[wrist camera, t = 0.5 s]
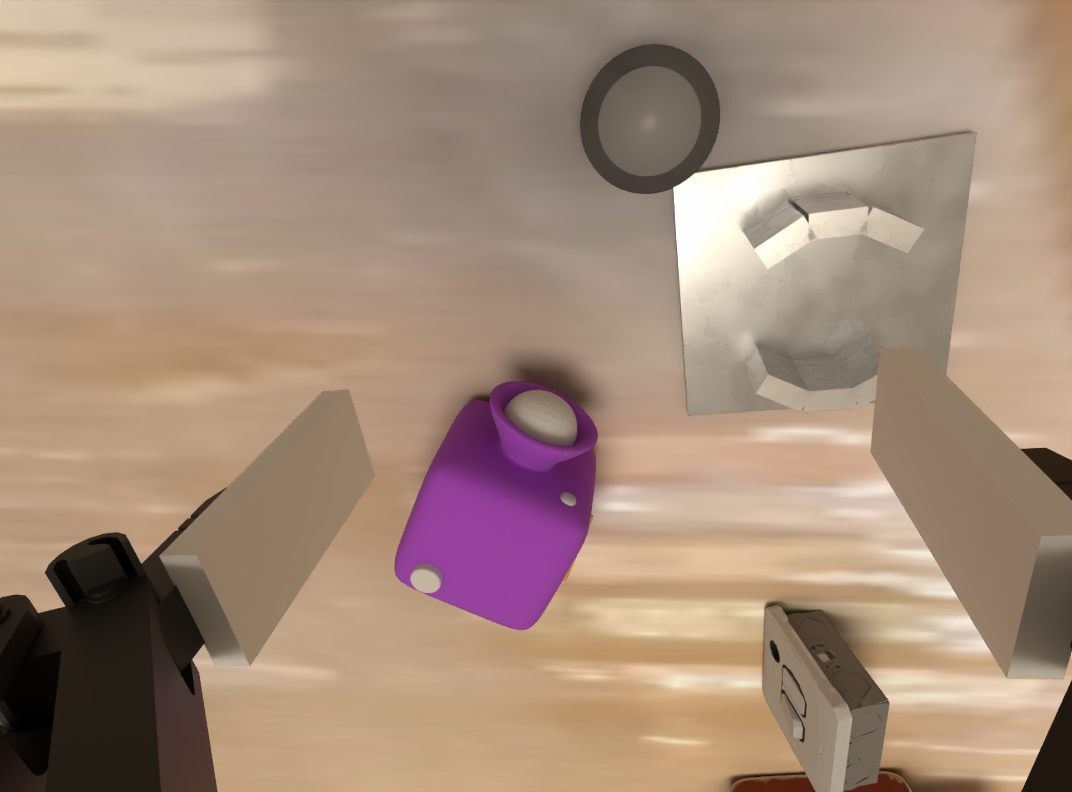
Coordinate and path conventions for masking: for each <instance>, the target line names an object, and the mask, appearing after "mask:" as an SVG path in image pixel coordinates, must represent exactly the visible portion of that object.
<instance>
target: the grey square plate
mask: <svg viewBox="0 0 1072 792" xmlns="http://www.w3.org/2000/svg"><path fill="white" fill-rule="evenodd" d="M976 134H977V133H976V132H964V133H957V134H950V135H943V136H937V137H930V138H923V139H916V140H909V141H902V142H895V143H888V144H881V145H874V146H867V147H860V148H854V149H847V150H840V151H833V152H826V153H819V154H812V155H805V156H798V157H791V158H784V159H777V160H771V161H764V162H757V163H750V164H743V165H736V166H729V167H722V168H715V169H708V170H701V171H696V172H695V173H694V174H693V175H692V176H691V177H690V178H688V179H687V180H686V181H684V182H683V183H681V184H680V185H678V186H676V187H674V188H673V196H674V211H675V227H676V242H677V258H678V273H679V288H680V304H681V319H682V334H683V350H684V365H685V381H686V396H687V411H688V416H693V415H707V414H721V413H735V412H750V411H764V410H778V409H795V410H797V411H799V412H800V411H801V409H803V411H804V412H816V411H831V410H845V409H856V404H859V406H860V407H862V406H864V405H866V404H868V403H875V397H876V386H877V375H878V364H879V353H880V349H885V348H898V347H911V346H917V347H918V348H919V349H920V350H921V351H922V352H923V353H924V354H925V355H926V356H927V357H928V358H929V359H930V360H931V361H932V362H933V363H934V364H935V365H936V366H937V367H938V368H939V369H940V370H941V371H942V372H943V373H944V374H945V375H946V370H947V363H948V355H949V347H950V339H951V331H952V323H953V315H954V308H955V300H956V292H957V284H958V276H959V268H960V260H961V252H962V245H963V237H964V229H965V221H966V213H967V205H968V197H969V190H970V182H971V174H972V166H973V158H974V150H975V142H976Z"/></svg>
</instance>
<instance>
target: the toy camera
mask: <svg viewBox="0 0 1072 792" xmlns="http://www.w3.org/2000/svg"><path fill="white" fill-rule="evenodd" d="M597 438H598V434H597V429H596V427H595V425H594V423H593V421H592V420H591V418H590V417H589V416H588V415H587V413H586V412H585V411H584V410H583V409H582V408H581V407H579V406H578V405H577V404H576V403H575V402H573V401H572V400H571V399H569V398H568V397H566V396H564V395H563V394H561V393H559V392H557V391H555V390H553V389H550V388H548V387H545V386H542V385H538V384H534V383H529V382H507V383H503V384H500V385H498V386H497V387H495V388H494V389H493V390H492V392H491V395H490V403H489V402H486V401H481V400H475V401H472V402H470V403H468V404H467V405H466V406H465V407H464V408H463V409H462V410H461V411H460V413H459V414H458V416H457V417H456V419H455V420H454V422H453V424H452V426H451V428H450V429H449V431H448V433H447V435H446V437H445V439H444V441H443V442H442V444H441V446H440V448H439V450H438V452H437V454H436V456H435V457H434V459H433V461H432V463H431V465H430V467H429V469H428V472H427V474H426V476H425V479H424V481H423V484H422V486H421V489H420V491H419V494H418V496H417V499H416V501H415V504H414V506H413V509H412V512H411V514H410V517H409V519H408V522H407V525H406V527H405V530H404V532H403V535H402V538H401V541H400V544H399V546H398V549H397V553H396V558H395V574H396V576H397V578H398V579H399V580H400V581H401V582H403V583H404V584H406V585H407V586H409V587H411V588H413V589H415V590H417V591H419V592H422V593H424V594H426V595H429V596H431V597H434V598H436V599H439V600H441V601H443V602H446V603H448V604H451V605H453V606H456V607H458V608H461V609H463V610H465V611H468V612H470V613H473V614H475V615H478V616H480V617H483V618H485V619H487V620H490V621H493V622H495V623H498V624H500V625H503V626H506V627H509V628H512V629H516V630H526V629H528V628H530V627H532V626H533V625H534V624H535V623H536V622H537V621H538V620H539V618H540V617H541V615H542V614H543V612H544V611H545V609H546V607H547V606H548V604H549V602H550V601H551V599H552V598H553V596H554V594H555V592H556V591H557V589H558V587H559V586H560V584H561V582H562V580H563V581H566V579H567V577H568V575H569V573H570V571H571V568H572V566H573V564H574V561H575V559H576V556H577V554H578V553H579V551H580V549H581V547H582V545H583V543H584V541H585V538H586V536H587V533H588V529H589V526H590V523H591V521H592V518H593V515H591V510H592V502H593V493H594V484H595V473H596V459H595V455H594V452H593V451H592V449H591V448H592V447H593V446H594V445H595V443H596V441H597Z"/></svg>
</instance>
